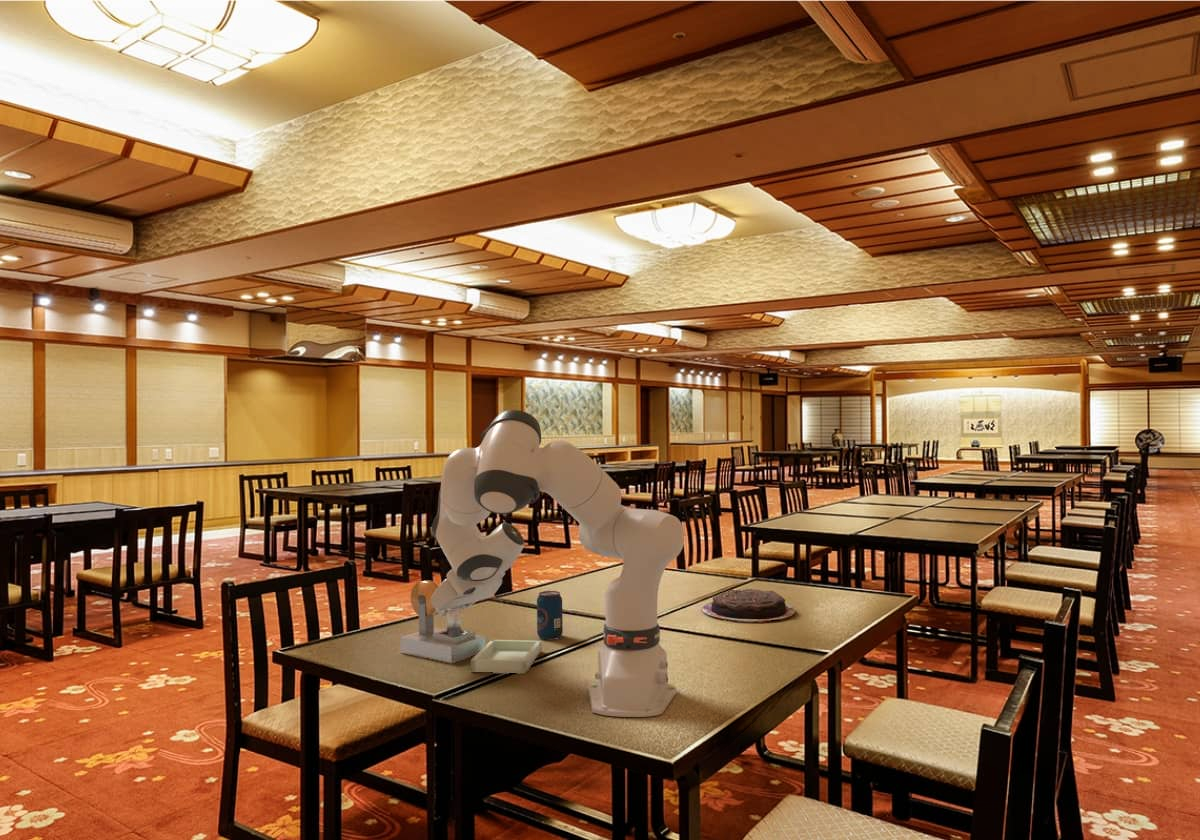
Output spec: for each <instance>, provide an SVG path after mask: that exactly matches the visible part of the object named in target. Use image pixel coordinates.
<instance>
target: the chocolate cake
mask: <svg viewBox="0 0 1200 840" xmlns="http://www.w3.org/2000/svg"><path fill="white" fill-rule="evenodd" d="M701 611H702V613H704V614H705V615H706V616H707V617H708V616H709V617H708V618H714V619H715V618H716V620H719V619H720V621H723V620H726V621H725V622H727V621H739V622H738V623H744V622H764V623H767V622H766V621H769V622H772V621H771V620H783V619H784V620H785V619H787V618H790V617H793V616H794V615H795V613H796V610H795V608H794V607H793V606H791V605H789V604H786V599H785V598H784V597H783V596H782V595H781V594H780V593H779V594H778V593H777V592H776V591H773V590H761V589H756V588H755V589H752V588H746V589H744V588H743V589H728V590H727V591H724V592H722V593H719V594H717V595H715V596H713V597H712V602H708V603H706V604H705V605H703V606H702V608H701ZM792 615H793V616H792ZM784 620H783V621H784ZM740 621H741V622H740Z"/></svg>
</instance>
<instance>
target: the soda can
mask: <svg viewBox="0 0 1200 840" xmlns="http://www.w3.org/2000/svg"><path fill="white" fill-rule="evenodd" d="M563 625H564V624H563V598H562V596H561V593H560V592H559V591H557V590H545V591H540V592H538V596H537V598H536V635H537V636H538V637H539V639H540V638H542V639H541V640H543V639H555V640H557V639H556V638H559V639H561V636H562V635H563V631H564V630H563V628H564V627H563Z"/></svg>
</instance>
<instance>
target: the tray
mask: <svg viewBox="0 0 1200 840" xmlns="http://www.w3.org/2000/svg"><path fill="white" fill-rule="evenodd" d="M541 653H542V640H526V639H525V640H524V639H522V640H520V639H519V640H518V639H491V640H490V641H489V642H488V643H486V644H485V647H484V648H483V649H482V650H481V651H480V652H479V653H478V654H477V655H475V656H473V657H472V659H471V660H470V673H471V672H493V673H492V674H509V673H517V674H519V675H526V674H527V673H528V672H529V670H530V669H531V667H532V666H533V664H534V663H535V662H536V660H537V659H538V658H539V656H540V655H541ZM539 654H540V655H539ZM538 655H539V656H538ZM536 658H537V659H536ZM535 659H536V660H535ZM534 661H535V662H534ZM533 662H534V663H533ZM532 663H533V664H532ZM531 665H532V666H531ZM529 668H530V669H529ZM527 671H528V672H527ZM526 672H527V673H526ZM517 674H516V675H517Z"/></svg>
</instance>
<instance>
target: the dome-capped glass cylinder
mask: <svg viewBox="0 0 1200 840" xmlns="http://www.w3.org/2000/svg"><path fill="white" fill-rule="evenodd" d="M447 611H448V612H447V614H446V629H447V635H449V636H457V635H461V629H462V609H461V605H460V606H456V607H453V608H449V609H447Z"/></svg>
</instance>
